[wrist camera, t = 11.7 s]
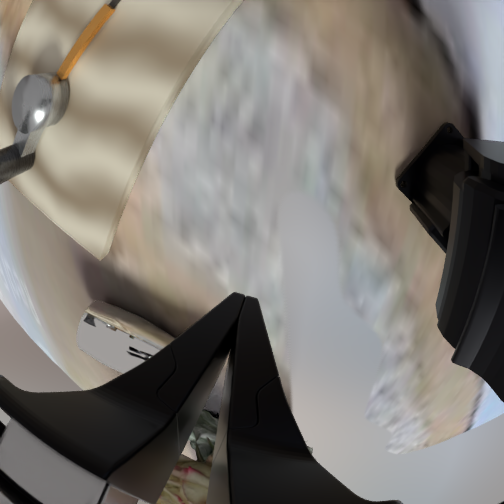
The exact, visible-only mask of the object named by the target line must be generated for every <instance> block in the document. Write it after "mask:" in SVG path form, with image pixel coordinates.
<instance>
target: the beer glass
mask: <svg viewBox="0 0 504 504" xmlns="http://www.w3.org/2000/svg"><path fill="white" fill-rule="evenodd" d="M174 339H175V337H173V336H171V335H170V334H168V333H166V332H165V331H163V330H162V329H160V328H158V327H157V326H155V325H154V324H152V323H150V322H149V321H147V320H145V319H143V318H142V317H140V316H138V315H135V314H133V313H131V312H129V311H127V310H124V309H122V308H119V307H117V306H114V305H111V304H108V303H106V302H103V301H101V300H96V301H94V302H93V303H92V304H90V305H89V307H88V308H87V309H86V311H85V312H84V314H83V316H82V318H81V320H80V323H79V326H78V330H77V345H78V348H79V349H80V350H81V351H83V352H85V353H86V354H88V355H89V356H91V357H92V358H94V359H95V360H97V361H99V362H100V363H102V364H104V365H106V366H107V367H109V368H111V369H113V370H116V371H118V372H120V373H123V374H124V373H125V372H127V371H129V370H131V369H132V368H134V367H136V366H138V365H139V364H141V363H142V362H144V361H146V360H147V359H149V358H150V357H152V356H153V355H154V354H156V353H157V352H159V351H160V350H161V349H163V348H164V347H165V346H166V345H168V344H170V342H172V341H173V340H174Z"/></svg>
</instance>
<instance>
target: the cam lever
mask: <svg viewBox="0 0 504 504" xmlns="http://www.w3.org/2000/svg"><path fill="white" fill-rule="evenodd" d="M114 12H115V9H114V8H113V7H111V6H110V5H108V4H104V5H103V6H102V8H101V9H100V10H99V11H98V13H97V14H96V15H95V16H94V18H93V19H92V20H91V22H90V23H89V24H88V26H87V27H86V28H85V30H84V31H83V32H82V34H81V35H80V37H79V38H78V40H77V41H76V43H75V44H74V46H73V47H72V49H71V50H70V52H69V53H68V55H67V56H66V58H65V60H64V61H63V63H62V65H61V66H60V68H59V70H58V71H57V72H50V73H40V74H32V75H27V76H25V77H23V78H22V79H21V80H20V82H19V83H18V85H17V87H16V89H15V91H14V95H13V99H12V117H13V121H14V124H15V126H16V128H17V129H18V130H17V133H16V136H15V139H14V142H13V144H12V145H10V146H7V147H5V148H2V149H0V184H2V183H3V182H5V181H7V180H9V179H11V178H13V177H15V176H17V175H19V174H21V173H23V172H25V171H27V170H30V169H31V168H32V167H33V165H34V160H35V155H34V151H35V149H36V147H37V144H38V142H39V140H40V137H41V135H42V133H43V131H44V128H46V127H50V126H53V125H55V124H57V123H58V122H59V121H60V120H61V119H62V117H63V116H64V114H65V111H66V109H67V105H68V99H69V90H68V84H67V81H66V79H67V77H68V75H69V74H70V72H71V70H72V69H73V67H74V66H75V64H76V63H77V61H78V59H79V58H80V56H81V55H82V53H83V52H84V51H85V49H86V48H87V46H88V45H89V43H90V42H91V41H92V39H93V38H94V37H95V35H96V34H97V33H98V31H99V30H100V29H101V27H102V26H103V25H104V24H105V22H106V21H107V20H108V19H109V18H110V16H111V15H112V14H113V13H114Z"/></svg>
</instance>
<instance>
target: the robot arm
mask: <svg viewBox="0 0 504 504" xmlns="http://www.w3.org/2000/svg"><path fill="white" fill-rule="evenodd" d="M448 127H450V132H449V133H448V132H447V128H448ZM402 181H405V185H404V186H401V182H402ZM396 186H397V187H398V189H399V190H400V191H401V192H402V193H403V194H404V195H405V196H406V197H407V198H408V199H409V200H410V201H411V202H412V204H411V205H410V210H411V212H412V213H413V214H414V215H415V217H416V218H417V219H418V221H419V222H420V223H421V224H422V226H423V227H424V228H425V230H426V231H427V233H428V234H429V235H430V236H431V237H432V238H433V239H434V241H435V242H436V243H437V244H438V245H439V246H440V247H441V249H442V250H443V251H444V252H445V253H446V258H445V264H444V269H443V274H442V279H441V284H440V288H439V293H438V297H437V301H436V311H437V318H438V320H439V321H438V324H437V326H438V328H439V330H440V332H441V333H442V335H443V337H444V338H445V339H446V340H447V341H448V342H449V343H450V344H451V346H452V347H454V348H455V352H454V354H453V356H452V358H451V361H452V362H453V363H455V364H457V365H460V366H463V367H465V368H468V369H470V370H472V371H473V372H475V373H476V374H478V375H479V376H480V377H482V378H483V379H484V380H485V381H486V382H487V383H488V384H489V386H490V387H491V388H492V389H493V390H494V392H495V393H496V394H497V395H498V397H499V398H500V399H501V400H502V401H503V402H504V142H499V141H490V140H480V139H467V138H463V136H462V135H461V134H460V133H459V131H458V130H457V129H456V128H455V126H454V125H453V124H451V123H448V122H446V123H444V124H443V125H442V126H441V127H440V129H439V130H438V131H437V132H436V133H435V135H434V136H433V137H432V138H431V140H430V141H429V142H428V143H427V144H426V146H425V147H424V148H423V149H422V150H421V152H420V153H419V154H418V155H417V156H416V157H415V159H414V160H413V161H412V162H411V163H410V164H409V166H408V167H407V168H406V169H405V170H404V171H403V172H402V174H401V175H400V176H399V177H398V178H397V180H396ZM229 352H230V353H229ZM228 355H229V358H228V363H227V370H226V376H225V382H224V389H223V395H222V402H221V408H220V414H219V421H218V427H217V434H216V440H215V447H214V454H213V460H212V467H211V473H210V480H209V487H208V493H207V500H206V504H403V503H401V501H399V500H389V501H378V502H376V501H369V500H365V499H363V498H361V497H359V496H357V495H356V494H354V493H353V492H352V491H351V490H350V489H348V488H347V487H346V486H345V485H343V484H342V483H341V482H340V481H339V480H337V479H336V478H335V477H334V476H333V475H332V474H330V473H329V472H328V471H327V470H326V469H325V468H323V467H322V466H321V465H320V464H319V463H318V462H317V461H316V460H315V459H314V457H313V456H312V454H311V453H310V451H309V449H308V447H307V445H306V443H305V441H304V438H303V436H302V434H301V432H300V430H299V428H298V426H297V423H296V421H295V419H294V416H293V414H292V412H291V409H290V407H289V404H288V402H287V399H286V396H285V393H284V390H283V387H282V384H281V380H280V377H278V376H279V373H278V370H277V366H276V362H275V359H274V355H273V352H272V348H271V344H270V341H269V337H268V333H267V330H266V326H265V323H264V319H263V315H262V312H261V308H260V304H259V301H258V299H257V298H254V297H251V296H246V297H245V295H244V294H240V293H237V292H233V293H232V294H231V295H229V296H228V297H227V298H226V299H224V300H223V301H222V302H221V303H219V304H218V305H217V306H216V307H214V308H213V309H212V310H211V311H209V312H208V313H207V314H206V315H204V316H203V317H202V318H201V319H199V320H198V321H197V322H196V323H194V324H193V325H192V326H191V327H189V328H188V329H187V330H186V331H184V332H183V333H182V334H181V335H179V336H178V337H177V338H175V339H174V340H173V341H172V342H170V344H168V345H166V346H165V347H164V348H163V349H161V350H160V351H159V352H157V353H156V354H154V355H153V356H152V357H150V358H149V359H147V360H146V361H144V362H142V363H141V364H139V365H138V366H136V367H134V368H132V369H131V370H129V371H127V372H125V373H124V374H122V375H120V376H118V377H117V378H115V379H113V380H111V381H109V382H108V383H106V384H104V385H102V386H100V387H97V388H94V389H91V390H85V391H71V392H43V393H36V392H28V391H24V390H21V389H19V388H17V387H15V386H14V385H13V384H12V383H11V382H10V381H9V380H7V379H6V378H5V377H4V376H2V375H0V408H1V409H2V410H3V411H4V412H5V413H6V414H7V415H9V416H10V417H11V419H10V421H9V423H8V424H7V426H5V425H4V424H3V423H2V422H1V421H0V504H137V502H138V500H142V501H144V502H147V503H149V504H156V503H157V501H158V499H159V497H160V495H161V493H162V491H163V489H164V487H165V485H166V483H167V481H168V479H169V477H170V475H171V473H172V471H173V469H174V467H175V465H176V463H177V461H178V459H179V456H180V455H181V453H182V451H183V449H184V447H185V445H186V443H187V441H188V439H189V437H190V435H191V433H192V431H193V429H194V427H195V425H196V423H197V421H198V419H199V416H200V414H201V412H202V410H203V408H204V406H205V404H206V402H207V400H208V398H209V396H210V394H211V391H212V389H213V387H214V385H215V383H216V381H217V379H218V377H219V374H220V372H221V370H222V368H223V366H224V364H225V362H226V359H227V357H228ZM499 504H504V501H503V502H501V503H499Z"/></svg>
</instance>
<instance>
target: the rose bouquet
mask: <svg viewBox="0 0 504 504" xmlns="http://www.w3.org/2000/svg"><path fill="white" fill-rule="evenodd" d="M218 421H219V419H217V418H214V417H212V416H211V415H210V413H209V412H207V411H205V410H202V412H201V414H200V416H199V419H198V421H197V423H196V425H195V427H194V429H193V431H192V433H191V435H190V437H189V439H188V440H190V441H191V442H190V444H191V447H192V448H193V449H195V450H196V456H197V460H196V461H195V460H193V459H190V458H189V457H187V456H185V455H182V454H181V455H180V456H179V459H178V461H177V463H176V465H175V467H174V469H173V471H172V473H171V475H170V477H169V479H168V481H167V483H166V485H165V487H164V489H163V491H162V493H161V495H160V497H159V499H158V501H157V503H156V504H206V500H207V493H208V487H209V480H210V473H211V467H212V460H213V454H214V447H215V440H216V434H217V427H218ZM307 447H308V446H307ZM308 449H309V451H310V453H311V454H312V451H313V449H312V448H310V447H308Z"/></svg>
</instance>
